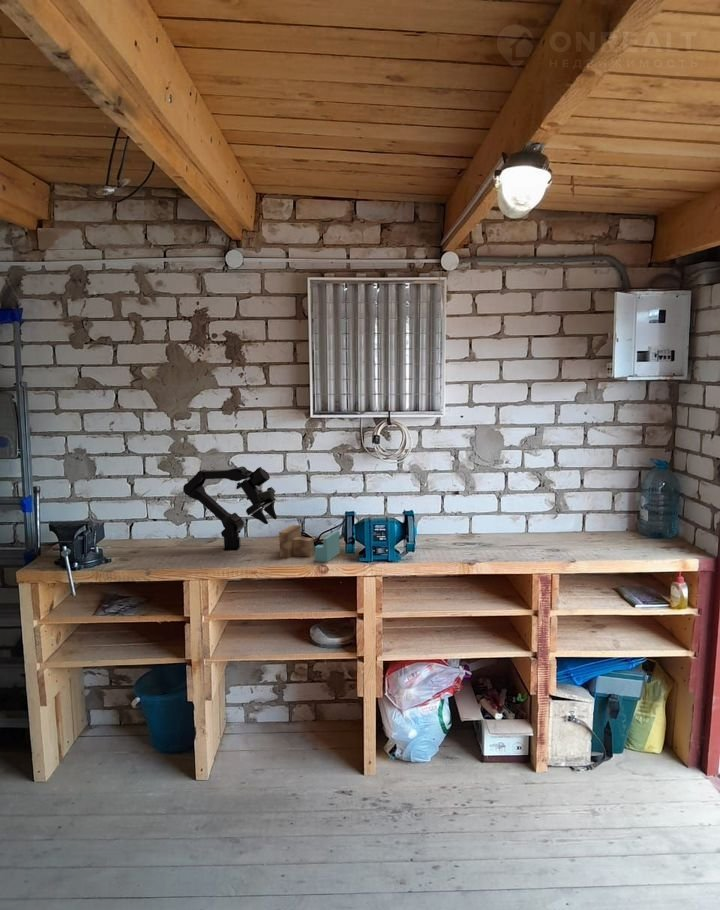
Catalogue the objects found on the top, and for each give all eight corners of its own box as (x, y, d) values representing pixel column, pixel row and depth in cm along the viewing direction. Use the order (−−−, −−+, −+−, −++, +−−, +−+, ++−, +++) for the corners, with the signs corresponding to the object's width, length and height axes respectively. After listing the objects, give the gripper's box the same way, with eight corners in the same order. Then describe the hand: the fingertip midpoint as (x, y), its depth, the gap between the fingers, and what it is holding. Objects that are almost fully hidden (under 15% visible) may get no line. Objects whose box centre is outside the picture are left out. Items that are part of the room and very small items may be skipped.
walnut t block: (280, 557, 270) (279, 532, 269) (293, 549, 283) (292, 525, 281) (305, 559, 266) (304, 534, 265) (318, 551, 278) (317, 526, 277)
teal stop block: (314, 561, 264) (314, 537, 263) (328, 551, 277) (327, 529, 276) (327, 562, 262) (326, 538, 261) (339, 552, 276) (339, 530, 274)
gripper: (255, 486, 268) (276, 516, 267) (274, 478, 286) (293, 507, 285) (237, 499, 271) (257, 530, 270) (256, 491, 289) (275, 520, 288)
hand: (271, 521), depth 278 cm, fingers open, 9 cm apart
